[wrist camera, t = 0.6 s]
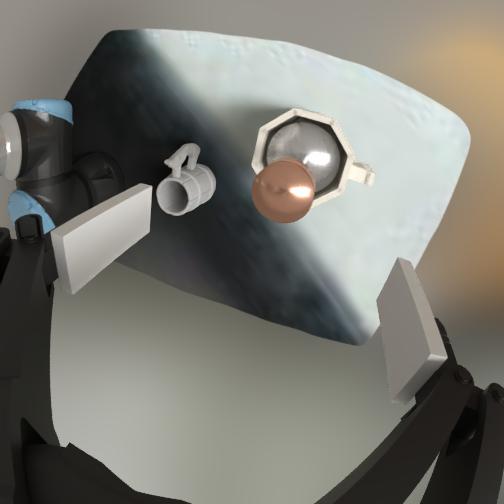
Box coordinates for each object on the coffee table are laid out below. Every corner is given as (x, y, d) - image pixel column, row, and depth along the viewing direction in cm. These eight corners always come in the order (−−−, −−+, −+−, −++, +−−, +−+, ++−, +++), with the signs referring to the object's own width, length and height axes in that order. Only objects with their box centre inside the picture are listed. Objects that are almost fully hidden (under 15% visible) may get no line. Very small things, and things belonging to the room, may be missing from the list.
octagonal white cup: (264, 172, 49) (243, 191, 38) (281, 103, 43) (264, 99, 32) (353, 200, 47) (359, 228, 36) (375, 131, 41) (391, 137, 30)
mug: (179, 198, 55) (145, 220, 45) (182, 138, 50) (145, 147, 39) (216, 204, 54) (187, 229, 44) (221, 142, 48) (191, 151, 38)
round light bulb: (261, 180, 39) (211, 232, 23) (277, 114, 34) (233, 115, 19) (327, 201, 37) (324, 268, 22) (347, 134, 33) (365, 152, 17)
